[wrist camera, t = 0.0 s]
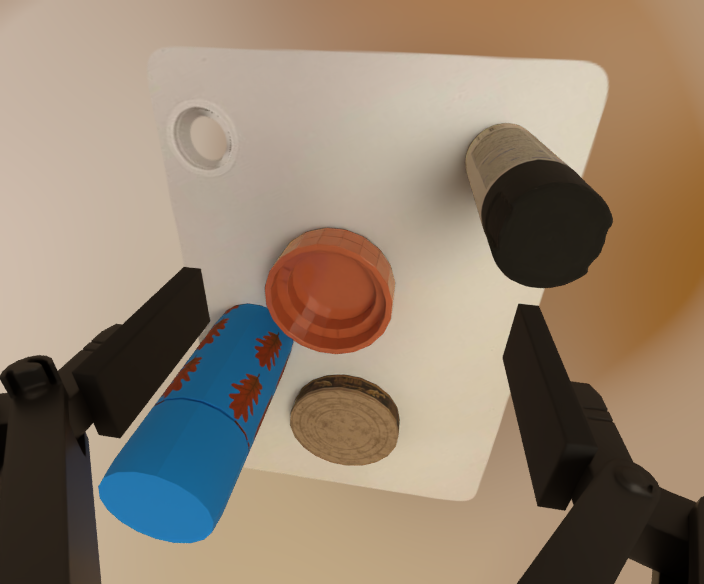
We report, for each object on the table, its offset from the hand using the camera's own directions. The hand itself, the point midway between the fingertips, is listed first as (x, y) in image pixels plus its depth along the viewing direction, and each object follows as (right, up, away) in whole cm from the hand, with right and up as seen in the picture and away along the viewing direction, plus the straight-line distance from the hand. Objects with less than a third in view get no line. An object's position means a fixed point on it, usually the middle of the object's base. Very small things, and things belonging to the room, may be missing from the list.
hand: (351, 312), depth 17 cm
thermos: (-13, -5, +40) cm, 42 cm away
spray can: (+14, +14, +23) cm, 31 cm away
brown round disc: (-1, -18, +45) cm, 48 cm away
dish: (-2, +2, +33) cm, 33 cm away
